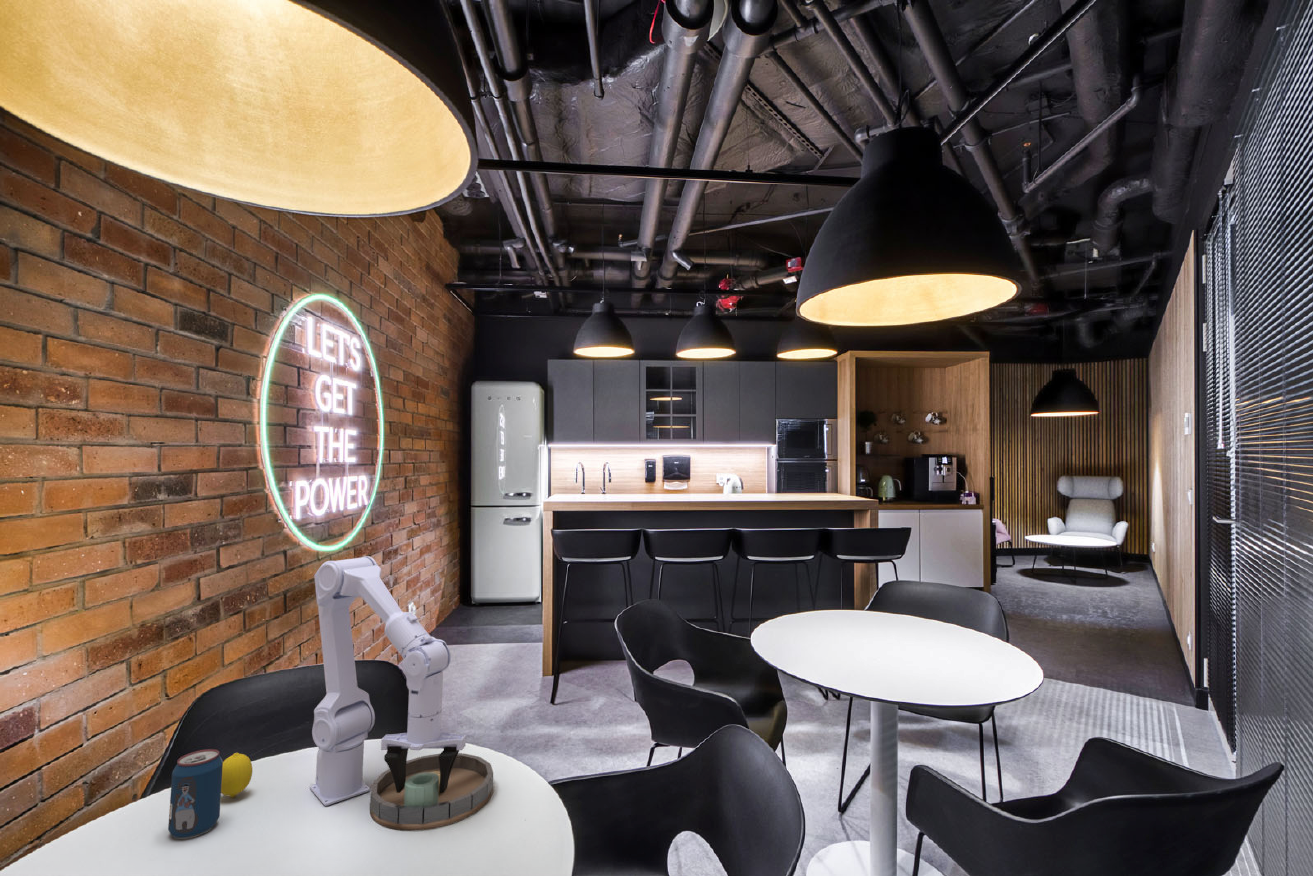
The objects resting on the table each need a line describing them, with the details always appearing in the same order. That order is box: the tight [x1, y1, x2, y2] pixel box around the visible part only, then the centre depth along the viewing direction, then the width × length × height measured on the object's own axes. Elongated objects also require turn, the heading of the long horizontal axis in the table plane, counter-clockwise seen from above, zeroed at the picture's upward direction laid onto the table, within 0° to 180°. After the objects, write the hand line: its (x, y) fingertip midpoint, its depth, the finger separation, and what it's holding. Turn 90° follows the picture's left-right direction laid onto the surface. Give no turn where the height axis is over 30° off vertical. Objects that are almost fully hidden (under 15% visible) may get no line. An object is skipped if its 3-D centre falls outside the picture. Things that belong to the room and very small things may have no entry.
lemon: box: [221, 752, 253, 799], centre depth 112 cm, size 6×6×8 cm
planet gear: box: [404, 772, 439, 806], centre depth 107 cm, size 6×6×5 cm
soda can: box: [167, 748, 224, 840], centre depth 102 cm, size 7×7×12 cm
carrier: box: [369, 752, 494, 832], centre depth 112 cm, size 22×22×4 cm
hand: (422, 790), depth 107 cm, fingers open, 7 cm apart
